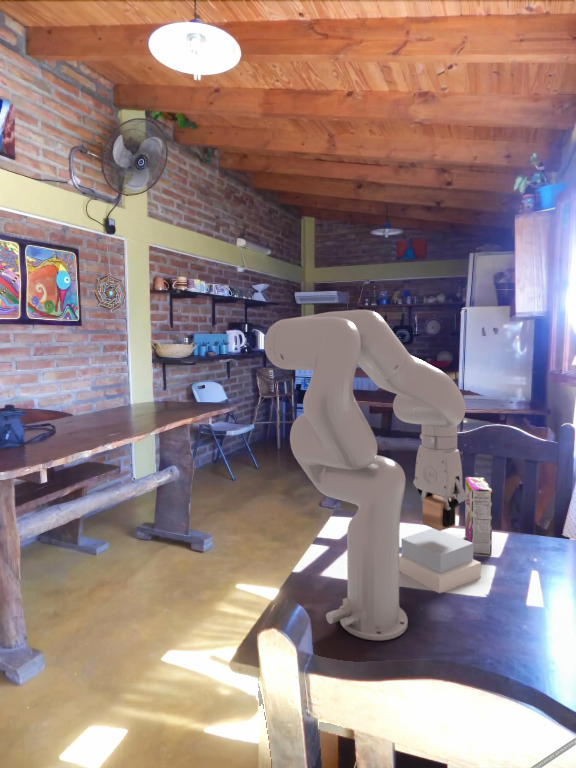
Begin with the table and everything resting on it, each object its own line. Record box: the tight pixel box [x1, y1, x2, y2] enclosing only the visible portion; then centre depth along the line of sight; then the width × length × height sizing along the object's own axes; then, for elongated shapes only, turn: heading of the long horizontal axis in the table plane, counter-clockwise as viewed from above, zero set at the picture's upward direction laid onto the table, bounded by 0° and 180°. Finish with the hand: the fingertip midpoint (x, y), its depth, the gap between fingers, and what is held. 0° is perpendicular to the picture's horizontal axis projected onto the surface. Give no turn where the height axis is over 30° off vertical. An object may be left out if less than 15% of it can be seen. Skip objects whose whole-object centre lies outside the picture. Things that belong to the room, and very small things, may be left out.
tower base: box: [399, 552, 482, 594], centre depth 110 cm, size 13×13×4 cm
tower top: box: [401, 528, 474, 574], centre depth 110 cm, size 11×11×4 cm
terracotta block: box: [422, 494, 457, 531], centre depth 110 cm, size 5×5×6 cm
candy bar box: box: [464, 476, 493, 556], centre depth 124 cm, size 11×5×16 cm, turn 168°
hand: (438, 520), depth 110 cm, fingers closed on terracotta block, 4 cm apart
